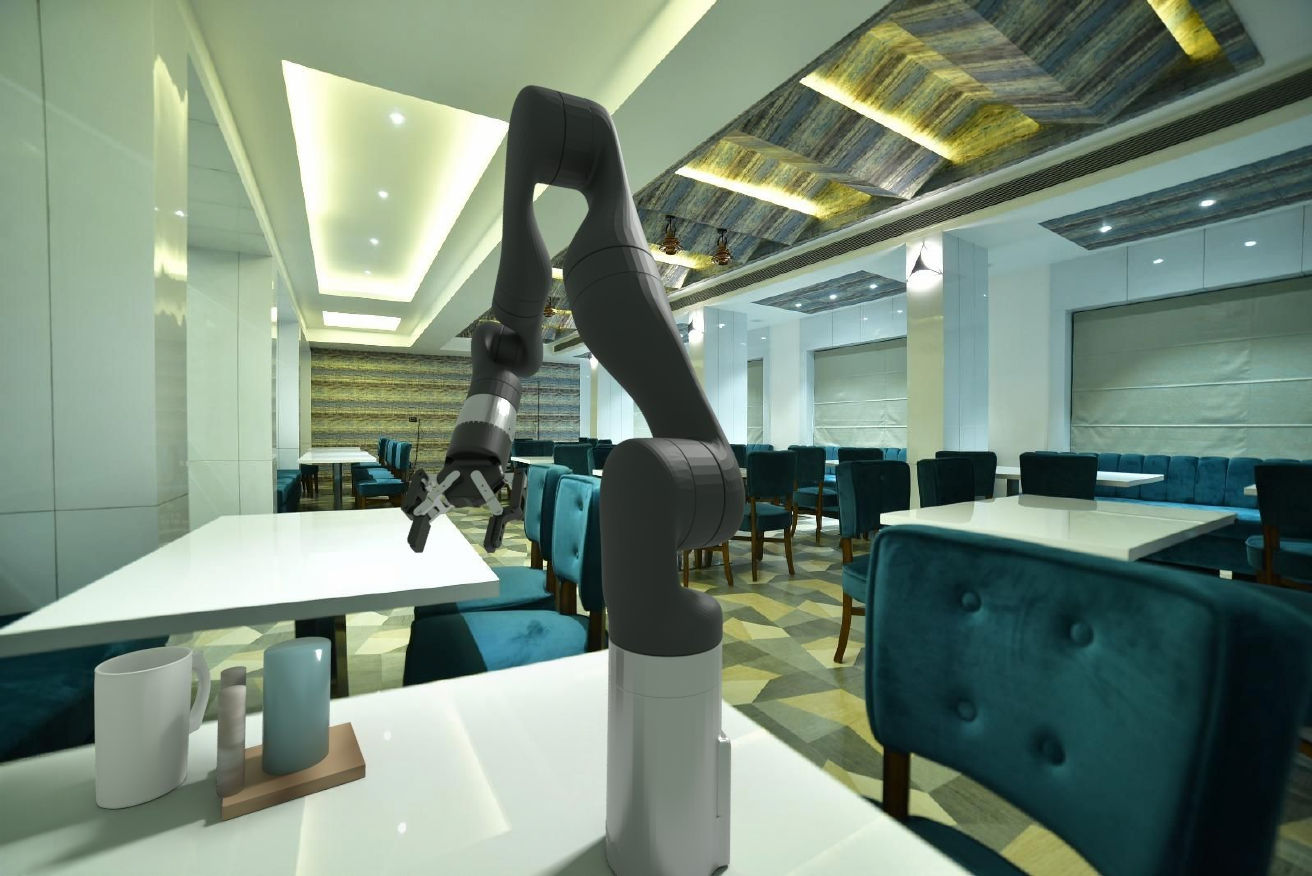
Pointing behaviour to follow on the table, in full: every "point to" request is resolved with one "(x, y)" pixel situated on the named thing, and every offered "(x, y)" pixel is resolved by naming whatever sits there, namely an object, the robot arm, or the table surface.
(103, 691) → the mug
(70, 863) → the table surface
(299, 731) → the pale blue cylinder
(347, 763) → the board
